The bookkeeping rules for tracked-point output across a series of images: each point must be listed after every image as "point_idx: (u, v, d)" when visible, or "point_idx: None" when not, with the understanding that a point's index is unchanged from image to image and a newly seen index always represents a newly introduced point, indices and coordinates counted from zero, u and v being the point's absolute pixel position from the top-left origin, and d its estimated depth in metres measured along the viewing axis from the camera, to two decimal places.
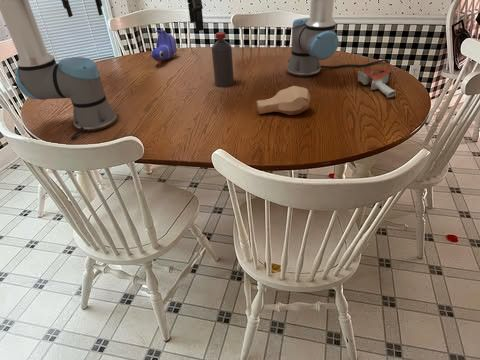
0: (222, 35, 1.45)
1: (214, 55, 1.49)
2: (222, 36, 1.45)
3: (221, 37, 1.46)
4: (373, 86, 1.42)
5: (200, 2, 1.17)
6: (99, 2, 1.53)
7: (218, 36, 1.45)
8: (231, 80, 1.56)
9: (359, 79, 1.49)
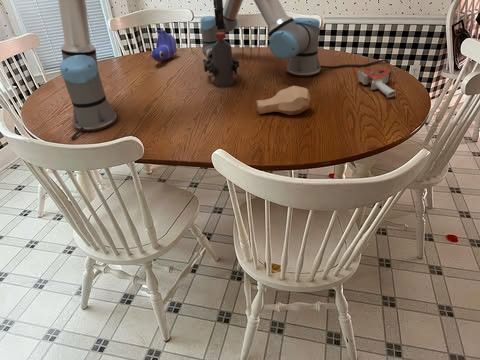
0: (222, 35, 1.45)
1: (214, 55, 1.49)
2: (222, 36, 1.45)
3: (221, 37, 1.46)
4: (373, 86, 1.42)
5: (204, 65, 1.57)
6: (218, 16, 1.38)
7: (218, 36, 1.45)
8: (231, 80, 1.56)
9: (359, 79, 1.49)
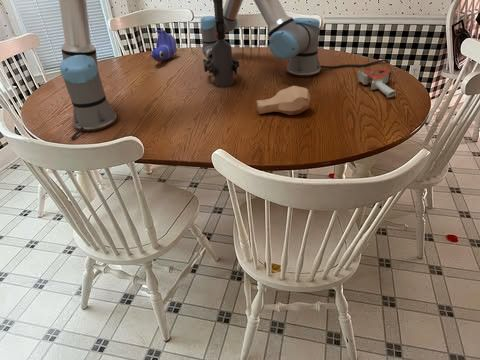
0: None
1: (214, 55, 1.49)
2: None
3: None
4: (373, 86, 1.42)
5: (204, 65, 1.57)
6: (218, 27, 1.42)
7: None
8: (231, 80, 1.56)
9: (359, 79, 1.49)
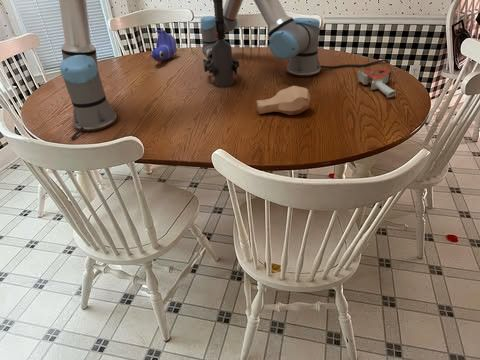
0: None
1: (214, 55, 1.49)
2: None
3: None
4: (373, 86, 1.42)
5: (204, 65, 1.57)
6: (218, 27, 1.42)
7: (224, 34, 1.46)
8: (231, 80, 1.56)
9: (359, 79, 1.49)
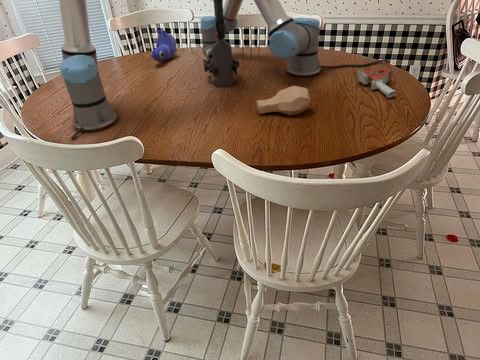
0: None
1: (214, 55, 1.49)
2: None
3: None
4: (373, 86, 1.42)
5: (204, 65, 1.57)
6: (218, 26, 1.42)
7: None
8: (231, 80, 1.56)
9: (359, 79, 1.49)
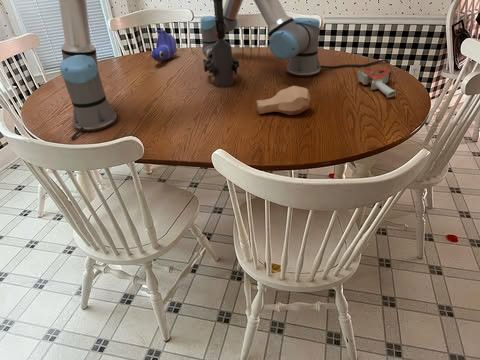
0: None
1: (214, 55, 1.49)
2: None
3: None
4: (373, 86, 1.42)
5: (204, 65, 1.57)
6: (218, 26, 1.42)
7: (216, 35, 1.46)
8: (231, 80, 1.56)
9: (359, 79, 1.49)
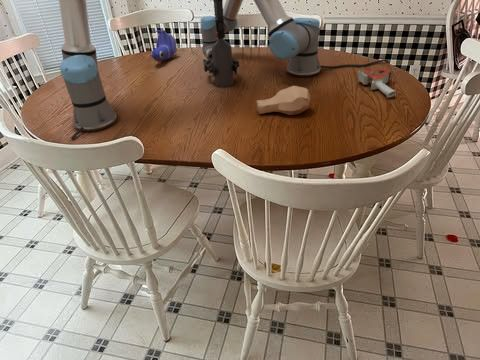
0: (224, 33, 1.47)
1: (214, 55, 1.49)
2: (224, 34, 1.47)
3: None
4: (373, 86, 1.42)
5: (204, 65, 1.57)
6: (218, 26, 1.42)
7: None
8: (231, 80, 1.56)
9: (359, 79, 1.49)
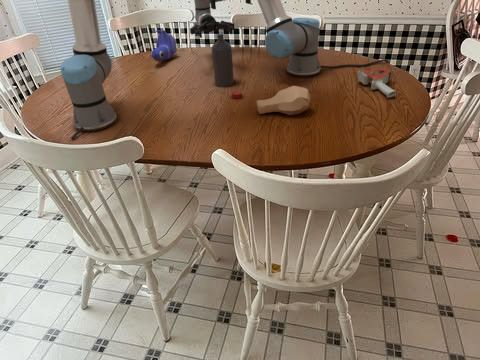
0: None
1: (214, 55, 1.49)
2: None
3: None
4: (373, 86, 1.42)
5: None
6: None
7: None
8: (231, 80, 1.56)
9: (359, 79, 1.49)
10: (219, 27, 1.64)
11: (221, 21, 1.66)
